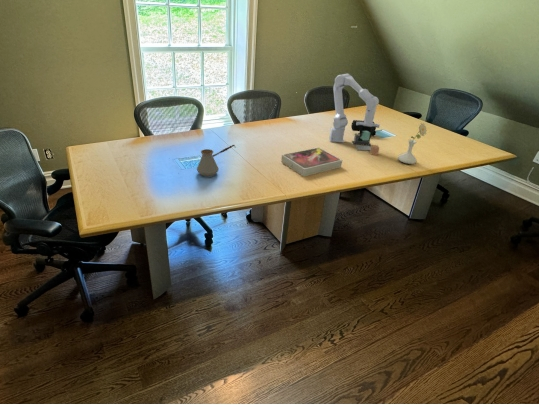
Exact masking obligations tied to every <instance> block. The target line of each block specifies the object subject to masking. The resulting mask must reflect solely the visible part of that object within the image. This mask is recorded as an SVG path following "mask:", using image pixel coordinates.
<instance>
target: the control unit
mask: <svg viewBox="0 0 539 405" xmlns="http://www.w3.org/2000/svg"><path fill="white" fill-rule="evenodd" d="M370 142H371V138H369V140H362V139H361V137H360V134H358V133H355V134H354V138H353V140H351V143H352V145H354V146H355V145H365V146H370V147H371V146H372V144H371V143H370Z"/></svg>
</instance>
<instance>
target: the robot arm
mask: <svg viewBox="0 0 539 405" xmlns="http://www.w3.org/2000/svg"><path fill="white" fill-rule="evenodd" d="M345 86H350V87H351V88H352V89H353V90H354V91H356V92H357V93H358V97H359V98H360V99H362V101H363V102H364V103H365V106H366V110H365V114H364V119H363V121H364V122H356V125H359V130H360V131H359V133H360V137H361V133H362V129H363V126H369V127H371V132H370V137H369V138H370V139H371V138H372V137H373V136H372V134H373V132H374V131H376V129H380V124H379V123H375V122H374V119H375V114H376V112H377V111H376V110H377V106H378V105H379V103H380V100H379V98H378V97H377V96H374V95H373V94H372V93H370V92H369V89H368V88H367V89H366V88H362V86H360V84H359V83H358V82H357V81H356V80H355V79H354V77H353V75H351V74H350V73H343V74H338V75H337V76H336V77H335V78H334V84H333V87H332V89H333V90H332V91H333V100H334V109H335V115H334V117H333V122H332V125H333V127H331V128H330V132H329V141H330V142H332V143H345V141H344V135H345V130H346V126H348V124H349V122H348V119H347V115H346V114H345V112H344V111H345V110H344V99H343V98H344V97H343V89H344V88H345ZM373 122H374V123H373Z"/></svg>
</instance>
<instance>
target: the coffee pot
mask: <svg viewBox="0 0 539 405" xmlns="http://www.w3.org/2000/svg"><path fill="white" fill-rule="evenodd" d="M231 148H235V149H236V148H237V147H236V145H235V144H232V145H229V146H228V147H225V148H224V149H222V150H220V151H219V152H216V153H215V154H214V150H212V149H210V148H209V149H207V148H206V149H202V150H201V151H200V153H201V157H200V160H199V162H198V165H197V166H196V170H197V173H198V174H200V176H202V177H204V178H205V177H206V178H209V177H210V178H211V177H214V176H215V175H216V174H217V173H218V172H219V166H218V164H217V162H216V160H215V157H217V156H218V155H219V154H222V153H224V152H226V151H228V150H229V149H231Z"/></svg>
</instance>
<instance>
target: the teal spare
mask: <svg viewBox="0 0 539 405" xmlns="http://www.w3.org/2000/svg"><path fill="white" fill-rule="evenodd" d="M369 137H370V132H368V131H362V133H361V139H362V140H369Z"/></svg>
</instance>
